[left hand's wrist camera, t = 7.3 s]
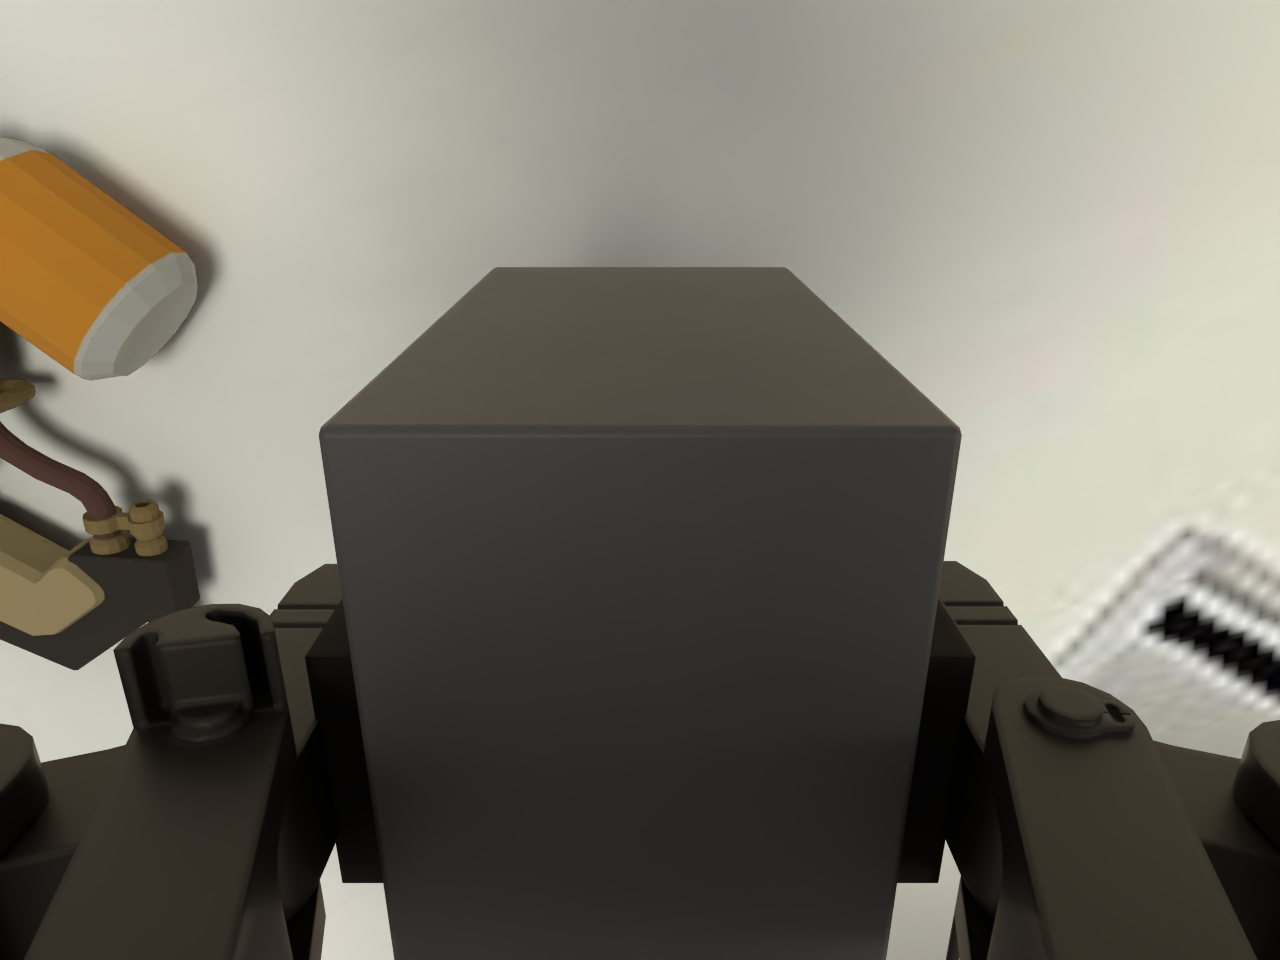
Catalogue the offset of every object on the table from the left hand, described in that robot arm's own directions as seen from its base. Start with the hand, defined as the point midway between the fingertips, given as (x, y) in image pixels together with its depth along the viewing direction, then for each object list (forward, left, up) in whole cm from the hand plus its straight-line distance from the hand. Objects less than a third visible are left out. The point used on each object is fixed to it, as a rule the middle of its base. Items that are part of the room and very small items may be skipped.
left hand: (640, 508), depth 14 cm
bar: (+6, +3, -1) cm, 7 cm away
